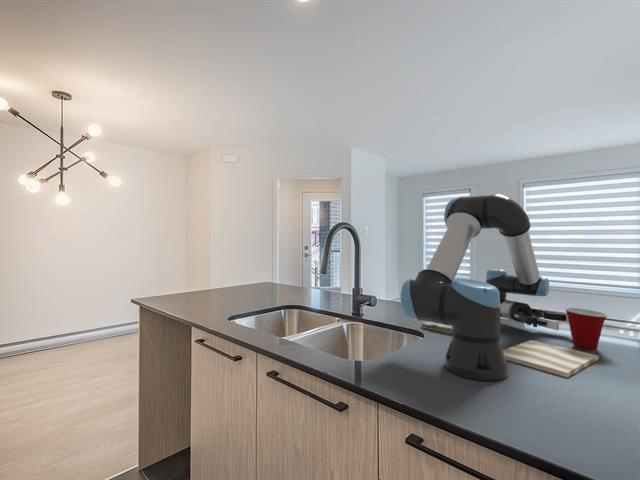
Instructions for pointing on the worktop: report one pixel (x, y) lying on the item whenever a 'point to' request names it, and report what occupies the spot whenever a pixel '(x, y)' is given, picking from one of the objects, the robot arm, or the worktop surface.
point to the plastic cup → (585, 327)
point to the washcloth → (437, 327)
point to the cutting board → (549, 357)
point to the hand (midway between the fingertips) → (572, 324)
